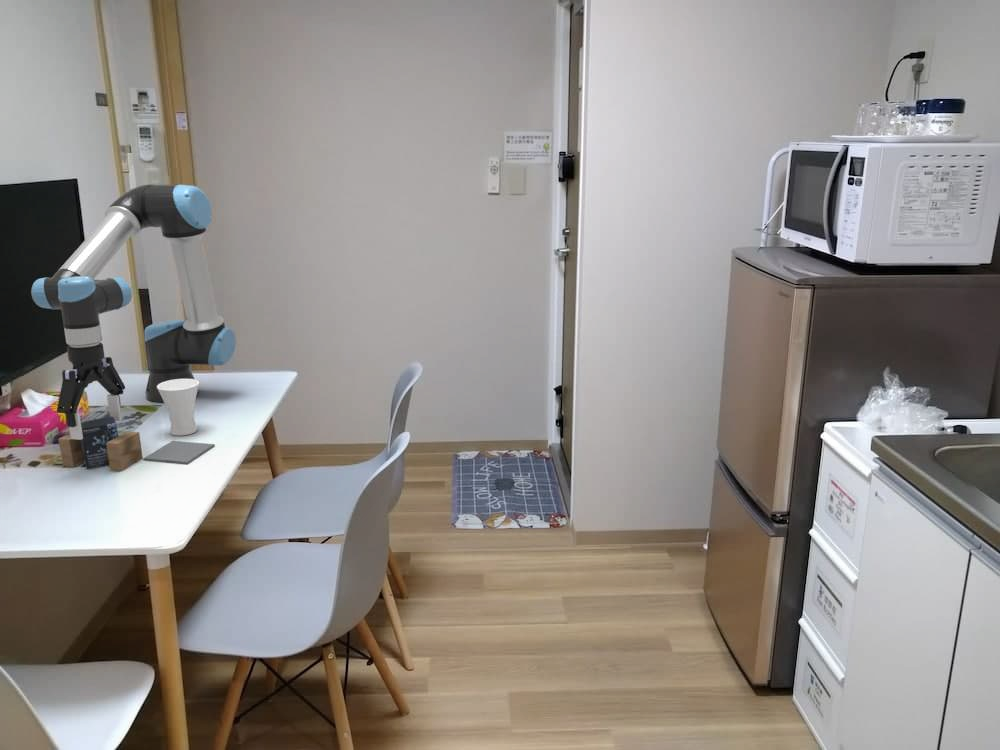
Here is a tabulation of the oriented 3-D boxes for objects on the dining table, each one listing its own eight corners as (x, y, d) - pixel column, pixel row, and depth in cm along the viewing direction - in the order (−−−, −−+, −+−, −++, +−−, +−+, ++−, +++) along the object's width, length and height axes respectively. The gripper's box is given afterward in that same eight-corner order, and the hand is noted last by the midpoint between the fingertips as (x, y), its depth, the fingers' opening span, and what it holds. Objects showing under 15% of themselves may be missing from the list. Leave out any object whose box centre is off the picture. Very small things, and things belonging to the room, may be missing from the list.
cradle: (86, 453, 193) (81, 427, 191) (142, 458, 190) (138, 432, 188) (62, 465, 186) (58, 438, 184) (121, 471, 183) (117, 444, 181)
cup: (164, 441, 201) (158, 392, 198) (161, 428, 210) (155, 381, 206) (206, 434, 206) (201, 386, 202) (201, 422, 215) (196, 376, 211)
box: (86, 469, 184) (80, 428, 181) (84, 462, 188) (77, 421, 185) (122, 462, 188) (116, 422, 185) (119, 455, 192) (113, 415, 189)
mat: (172, 442, 200) (172, 440, 200) (214, 446, 198) (214, 444, 198) (143, 460, 189) (143, 458, 189) (187, 464, 187) (187, 462, 187)
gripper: (106, 331, 192) (118, 411, 198) (29, 355, 168) (44, 446, 174) (133, 333, 190) (143, 413, 196) (59, 357, 167) (73, 448, 173)
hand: (97, 429), depth 185 cm, fingers open, 13 cm apart
